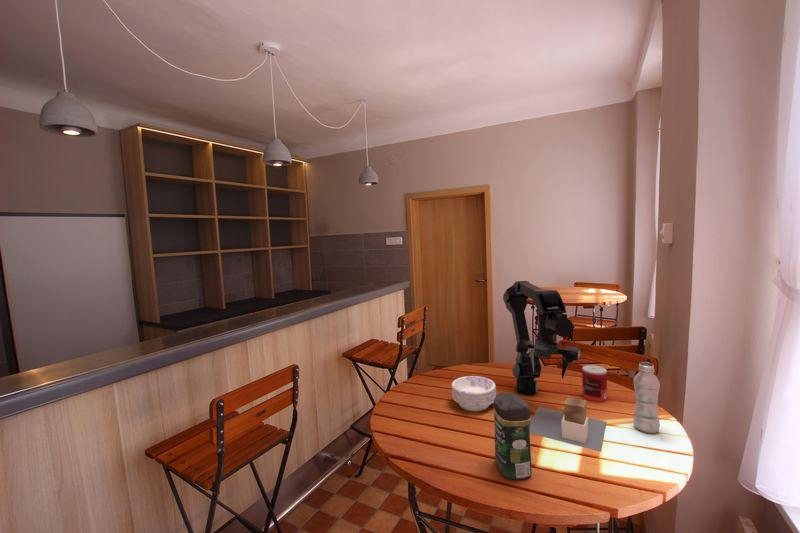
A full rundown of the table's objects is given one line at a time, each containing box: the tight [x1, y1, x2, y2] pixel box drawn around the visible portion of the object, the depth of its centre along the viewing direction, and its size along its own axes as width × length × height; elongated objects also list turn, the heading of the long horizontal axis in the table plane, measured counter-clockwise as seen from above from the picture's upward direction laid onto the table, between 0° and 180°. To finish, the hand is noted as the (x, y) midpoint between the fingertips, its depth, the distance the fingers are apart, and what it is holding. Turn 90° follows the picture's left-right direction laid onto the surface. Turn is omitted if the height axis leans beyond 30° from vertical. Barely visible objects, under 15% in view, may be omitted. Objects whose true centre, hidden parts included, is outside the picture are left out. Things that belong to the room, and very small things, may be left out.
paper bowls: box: [451, 375, 497, 412], centre depth 125 cm, size 15×15×8 cm
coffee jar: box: [493, 392, 533, 481], centre depth 89 cm, size 10×8×19 cm
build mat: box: [530, 407, 608, 453], centre depth 108 cm, size 20×18×1 cm
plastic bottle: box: [632, 362, 661, 435], centre depth 104 cm, size 6×7×20 cm
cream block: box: [562, 416, 589, 443], centre depth 102 cm, size 6×6×5 cm
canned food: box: [581, 364, 608, 403], centre depth 126 cm, size 8×8×11 cm
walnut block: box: [563, 396, 587, 425], centre depth 102 cm, size 5×5×5 cm
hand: (547, 375), depth 117 cm, fingers open, 9 cm apart
